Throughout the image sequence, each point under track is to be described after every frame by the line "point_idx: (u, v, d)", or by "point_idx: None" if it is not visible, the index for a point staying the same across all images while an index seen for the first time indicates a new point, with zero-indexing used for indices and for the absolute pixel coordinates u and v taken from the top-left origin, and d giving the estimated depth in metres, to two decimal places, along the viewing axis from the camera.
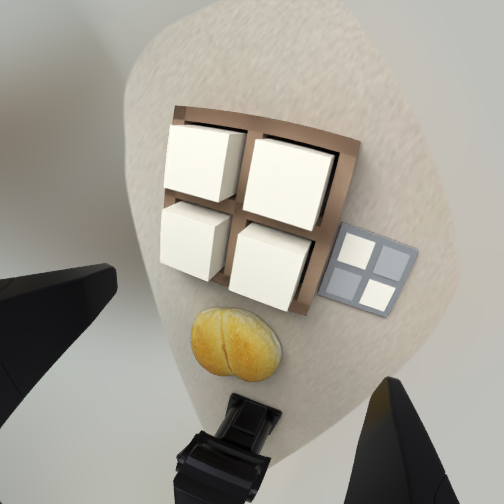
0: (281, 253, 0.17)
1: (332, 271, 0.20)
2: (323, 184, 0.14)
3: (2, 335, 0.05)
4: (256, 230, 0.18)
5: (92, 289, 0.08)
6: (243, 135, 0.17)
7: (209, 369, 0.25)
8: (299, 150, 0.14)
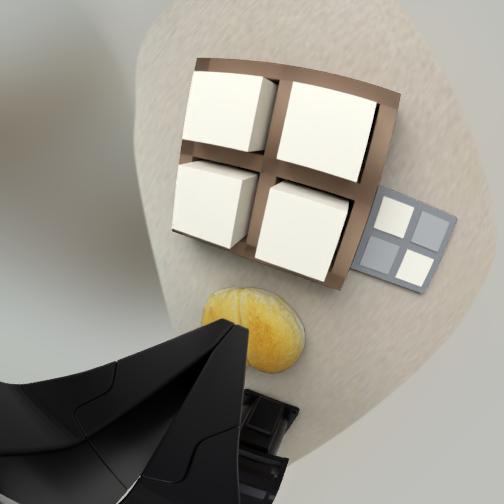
0: (321, 209, 0.14)
1: (367, 240, 0.18)
2: (369, 129, 0.12)
3: (119, 447, 0.04)
4: (288, 187, 0.16)
5: None
6: (274, 85, 0.14)
7: None
8: (342, 93, 0.12)
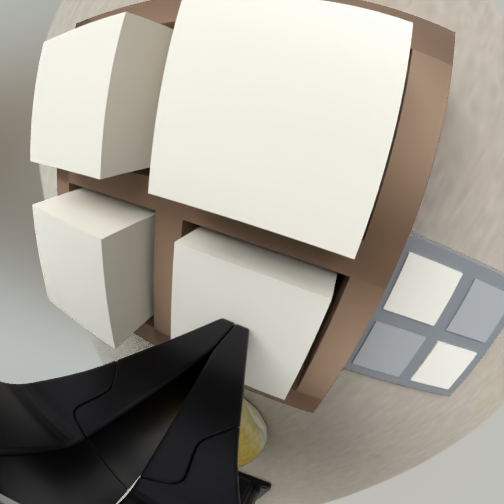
0: (274, 290, 0.07)
1: (370, 328, 0.09)
2: (398, 99, 0.03)
3: (119, 447, 0.04)
4: (220, 233, 0.08)
5: None
6: None
7: None
8: (308, 1, 0.03)
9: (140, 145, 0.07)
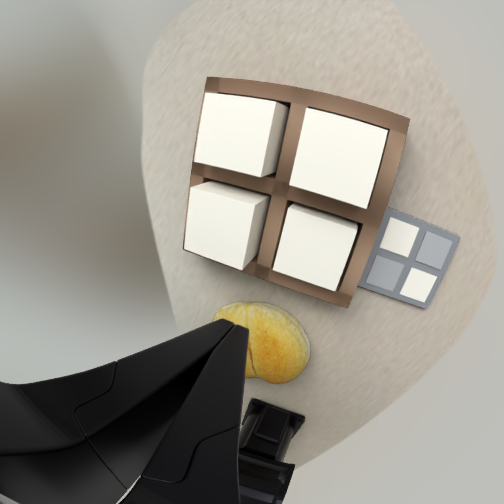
0: (333, 227, 0.16)
1: (373, 259, 0.18)
2: (380, 158, 0.12)
3: (119, 447, 0.04)
4: (303, 206, 0.17)
5: None
6: (285, 108, 0.15)
7: None
8: (354, 121, 0.12)
9: (270, 162, 0.16)
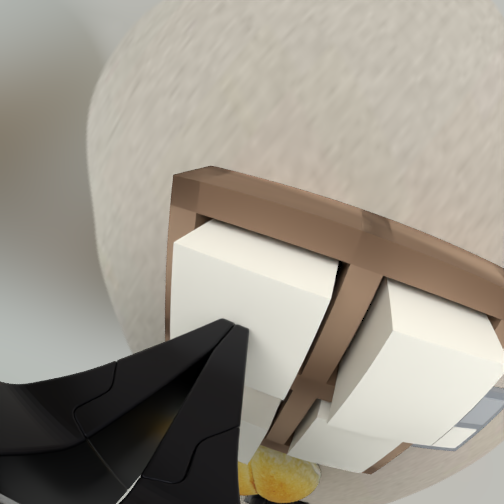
0: None
1: None
2: (478, 400, 0.05)
3: (119, 447, 0.04)
4: None
5: None
6: (337, 264, 0.08)
7: None
8: (470, 355, 0.05)
9: None
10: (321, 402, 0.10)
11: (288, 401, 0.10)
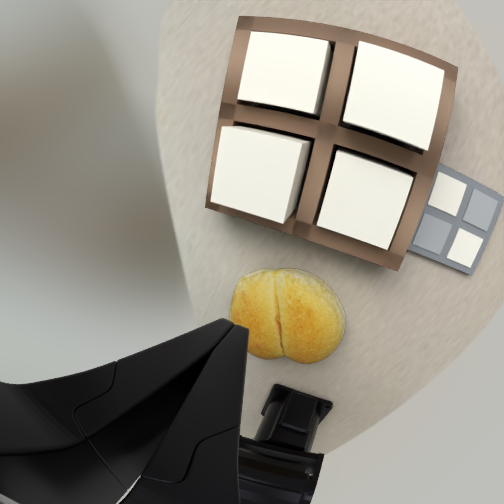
0: (388, 174, 0.13)
1: (421, 218, 0.15)
2: (438, 97, 0.09)
3: (119, 447, 0.04)
4: (350, 153, 0.14)
5: None
6: (332, 53, 0.13)
7: (255, 350, 0.20)
8: (410, 58, 0.09)
9: (319, 103, 0.14)
10: (338, 150, 0.14)
11: (313, 153, 0.14)
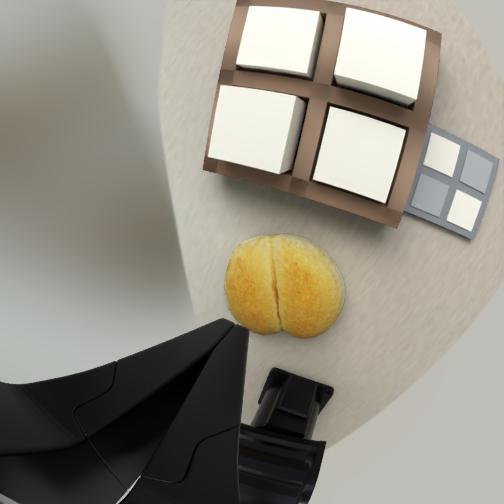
0: (380, 126, 0.13)
1: (418, 179, 0.15)
2: (423, 52, 0.09)
3: (119, 447, 0.04)
4: None
5: None
6: (324, 26, 0.13)
7: (250, 321, 0.20)
8: (394, 20, 0.09)
9: (313, 68, 0.14)
10: None
11: (307, 111, 0.14)
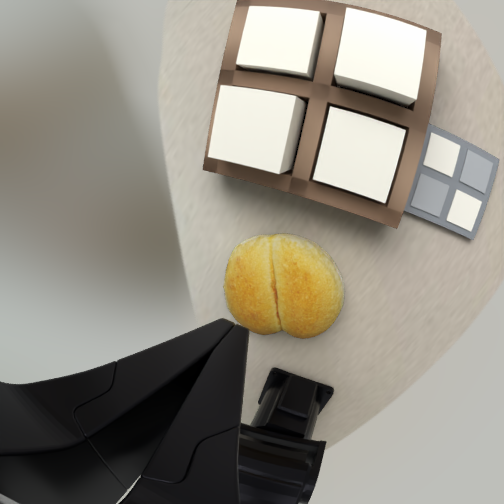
0: (380, 126, 0.13)
1: (418, 179, 0.15)
2: (423, 52, 0.09)
3: (119, 447, 0.04)
4: None
5: None
6: (324, 26, 0.13)
7: (249, 320, 0.20)
8: (394, 20, 0.09)
9: (313, 68, 0.14)
10: None
11: (307, 111, 0.14)
